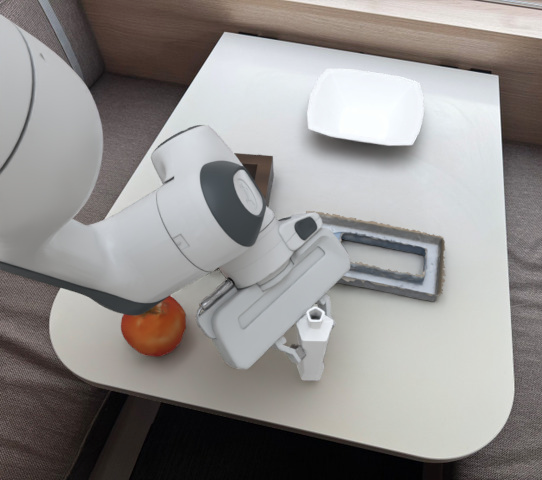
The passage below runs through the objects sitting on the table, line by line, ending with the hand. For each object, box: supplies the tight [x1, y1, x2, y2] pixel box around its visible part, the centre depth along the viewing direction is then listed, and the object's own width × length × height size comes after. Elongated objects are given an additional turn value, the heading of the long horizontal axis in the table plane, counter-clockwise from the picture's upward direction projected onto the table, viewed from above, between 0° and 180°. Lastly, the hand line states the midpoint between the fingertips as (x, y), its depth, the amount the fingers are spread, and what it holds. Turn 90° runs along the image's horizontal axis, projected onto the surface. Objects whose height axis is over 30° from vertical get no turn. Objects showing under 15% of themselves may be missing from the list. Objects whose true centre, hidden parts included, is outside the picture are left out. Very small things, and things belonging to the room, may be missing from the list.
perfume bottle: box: [295, 305, 333, 381], centre depth 66 cm, size 5×4×15 cm
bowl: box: [306, 68, 425, 147], centre depth 107 cm, size 22×23×6 cm
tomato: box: [120, 295, 187, 358], centre depth 75 cm, size 9×9×8 cm
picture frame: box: [305, 210, 446, 302], centre depth 87 cm, size 13×25×3 cm, turn 80°
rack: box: [216, 152, 275, 271], centre depth 90 cm, size 22×12×5 cm, turn 176°
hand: (315, 343), depth 65 cm, fingers closed on perfume bottle, 4 cm apart
